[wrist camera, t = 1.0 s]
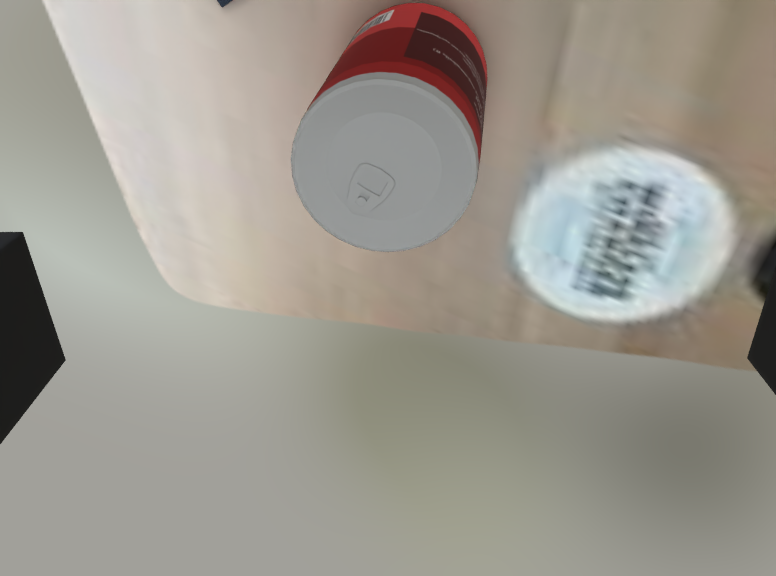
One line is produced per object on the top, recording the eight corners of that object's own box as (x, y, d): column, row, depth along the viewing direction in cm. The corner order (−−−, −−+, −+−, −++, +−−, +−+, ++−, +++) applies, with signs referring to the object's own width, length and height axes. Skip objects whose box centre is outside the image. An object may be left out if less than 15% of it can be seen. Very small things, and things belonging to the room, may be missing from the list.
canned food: (333, 122, 37) (277, 227, 28) (361, -23, 32) (304, 51, 23) (461, 160, 37) (444, 274, 29) (509, 21, 32) (506, 110, 24)
